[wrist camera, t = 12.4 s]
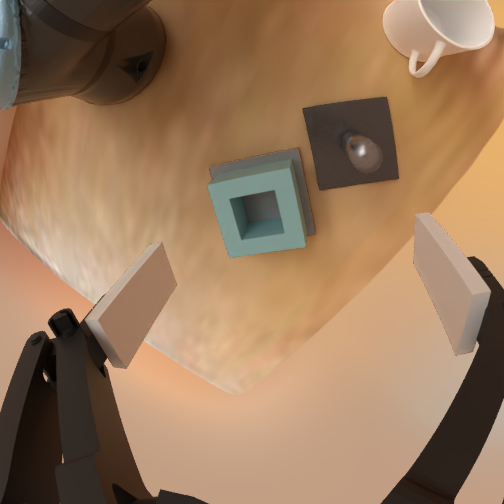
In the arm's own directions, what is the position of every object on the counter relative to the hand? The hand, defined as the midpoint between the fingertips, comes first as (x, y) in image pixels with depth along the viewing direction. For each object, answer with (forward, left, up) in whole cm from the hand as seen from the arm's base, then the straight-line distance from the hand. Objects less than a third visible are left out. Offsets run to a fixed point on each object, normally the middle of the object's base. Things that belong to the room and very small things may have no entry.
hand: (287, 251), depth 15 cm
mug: (-13, +17, -24) cm, 32 cm away
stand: (-1, +7, -23) cm, 24 cm away
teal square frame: (+4, -5, -22) cm, 23 cm away
